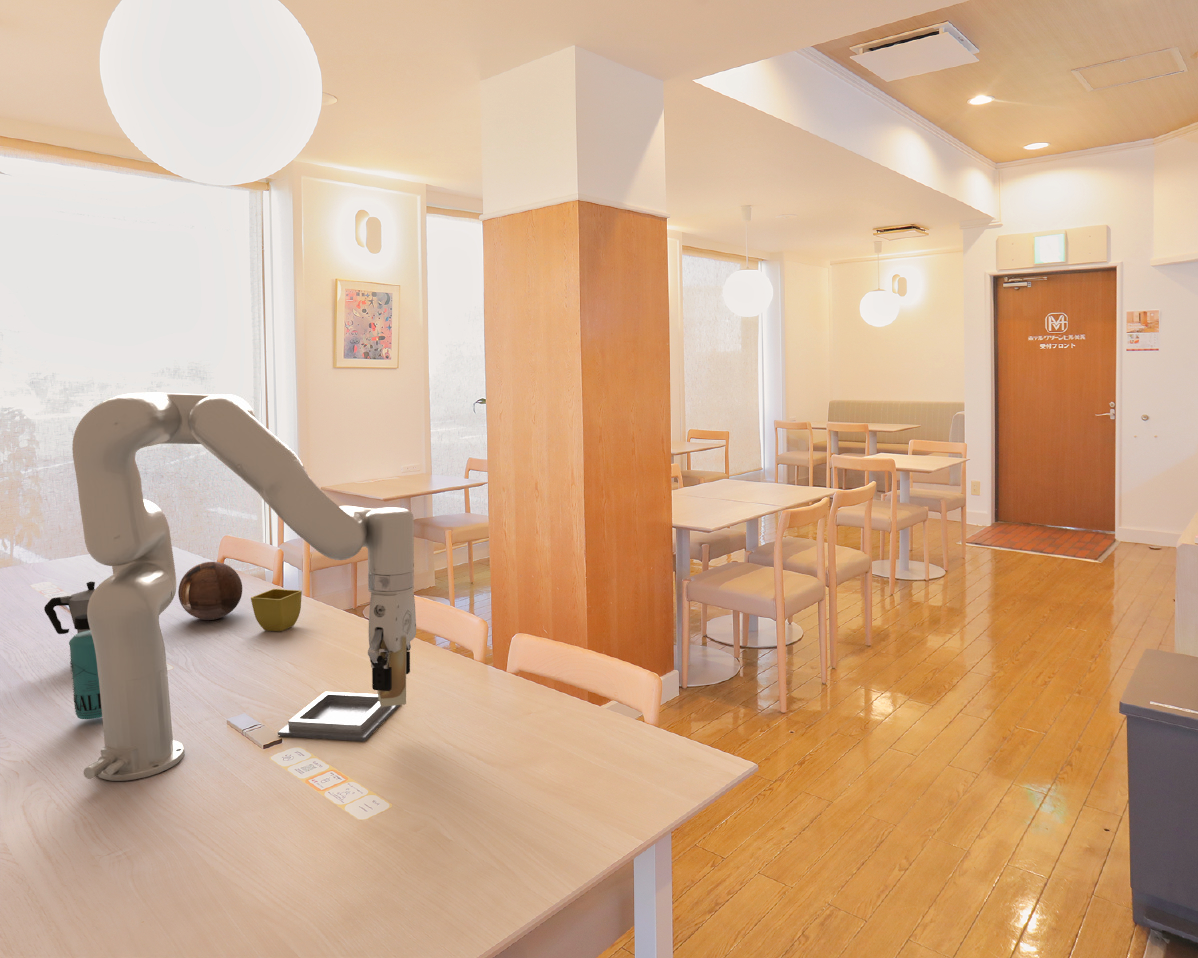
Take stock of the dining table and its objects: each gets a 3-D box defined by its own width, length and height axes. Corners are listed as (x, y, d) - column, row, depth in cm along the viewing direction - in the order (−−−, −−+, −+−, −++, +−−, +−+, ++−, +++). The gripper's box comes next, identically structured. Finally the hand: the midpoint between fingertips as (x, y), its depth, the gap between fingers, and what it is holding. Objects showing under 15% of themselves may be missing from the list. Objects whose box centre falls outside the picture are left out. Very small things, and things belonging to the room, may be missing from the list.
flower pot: (251, 632, 198) (249, 597, 197) (275, 622, 206) (273, 588, 205) (281, 635, 195) (279, 599, 194) (304, 624, 204) (302, 590, 203)
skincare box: (376, 694, 141) (376, 626, 139) (402, 691, 142) (402, 624, 141) (380, 708, 135) (380, 637, 134) (406, 705, 136) (406, 635, 135)
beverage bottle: (109, 709, 152) (99, 607, 150) (123, 719, 148) (114, 613, 145) (70, 721, 147) (59, 615, 145) (83, 731, 143) (73, 622, 140)
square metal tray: (364, 741, 138) (364, 728, 137) (278, 736, 140) (277, 723, 140) (401, 704, 153) (400, 692, 153) (322, 700, 156) (322, 688, 155)
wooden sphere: (234, 606, 220) (231, 553, 219) (251, 619, 209) (247, 562, 207) (174, 617, 211) (170, 562, 209) (188, 631, 200) (184, 572, 198)
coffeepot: (127, 648, 187) (121, 573, 185) (135, 659, 180) (128, 580, 178) (48, 663, 177) (40, 584, 175) (52, 675, 170) (44, 593, 168)
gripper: (391, 595, 127) (392, 702, 129) (430, 570, 144) (430, 665, 146) (346, 592, 128) (348, 698, 130) (390, 568, 145) (391, 662, 147)
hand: (391, 680), depth 138 cm, fingers closed on skincare box, 7 cm apart
